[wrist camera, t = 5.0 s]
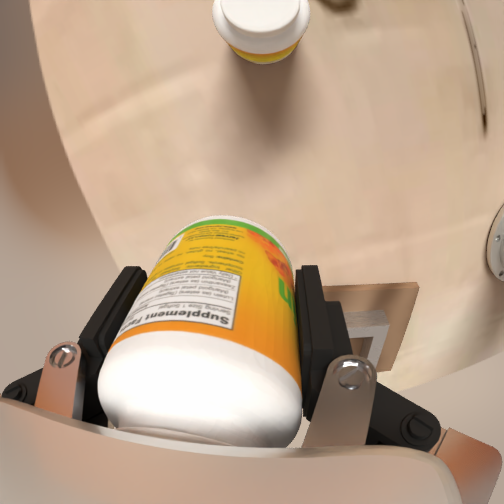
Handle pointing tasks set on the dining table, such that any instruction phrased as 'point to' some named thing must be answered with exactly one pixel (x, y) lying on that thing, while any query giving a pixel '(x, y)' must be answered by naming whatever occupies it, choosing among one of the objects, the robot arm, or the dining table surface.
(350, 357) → the robot arm
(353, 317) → the collar
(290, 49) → the supplement bottle
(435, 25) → the dining table surface
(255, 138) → the dining table surface
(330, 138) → the dining table surface
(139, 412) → the supplement bottle
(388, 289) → the board
